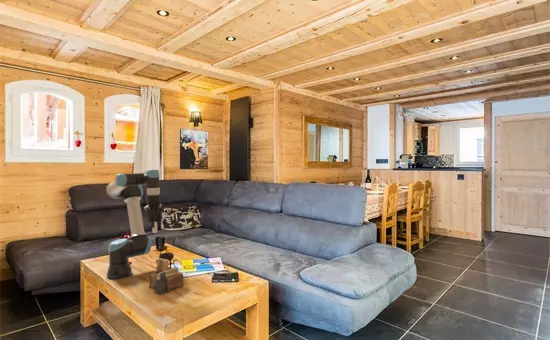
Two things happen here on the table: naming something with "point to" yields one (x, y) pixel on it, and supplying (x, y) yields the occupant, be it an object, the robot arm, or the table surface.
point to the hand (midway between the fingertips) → (154, 232)
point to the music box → (165, 255)
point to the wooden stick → (168, 272)
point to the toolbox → (165, 283)
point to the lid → (162, 266)
